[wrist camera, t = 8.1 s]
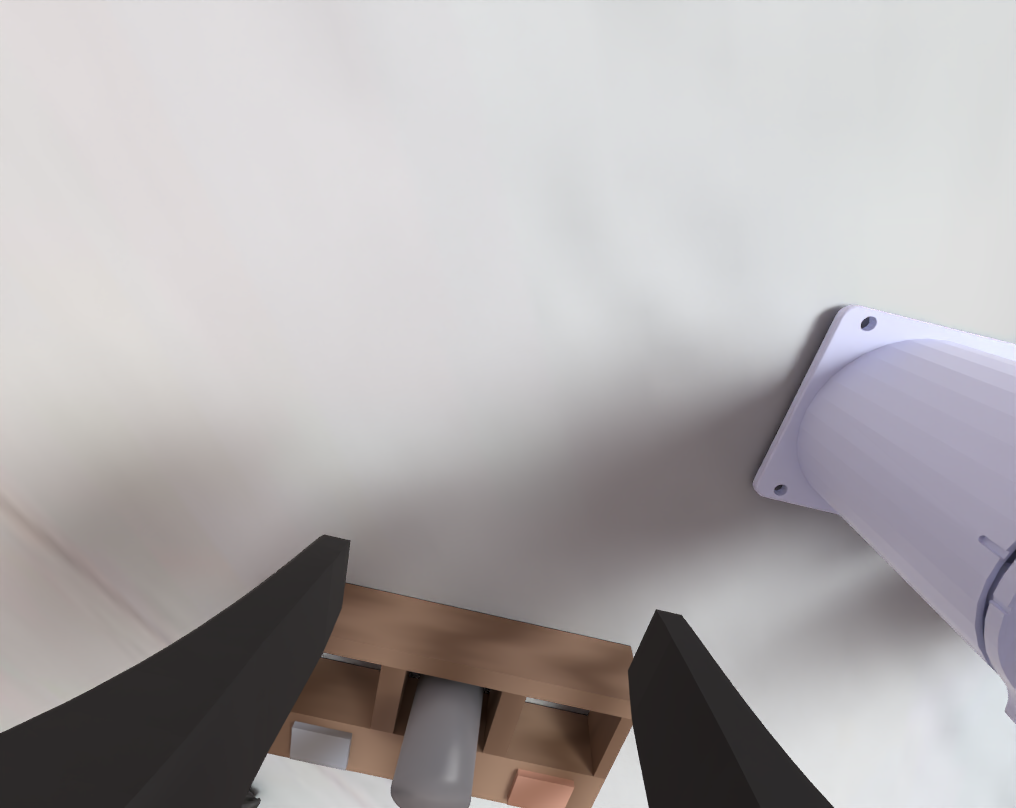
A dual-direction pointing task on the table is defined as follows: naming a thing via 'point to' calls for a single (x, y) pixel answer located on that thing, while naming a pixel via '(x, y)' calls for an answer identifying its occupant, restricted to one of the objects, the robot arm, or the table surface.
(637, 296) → the table surface
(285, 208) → the table surface
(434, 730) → the peg
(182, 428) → the table surface
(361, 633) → the socket block
